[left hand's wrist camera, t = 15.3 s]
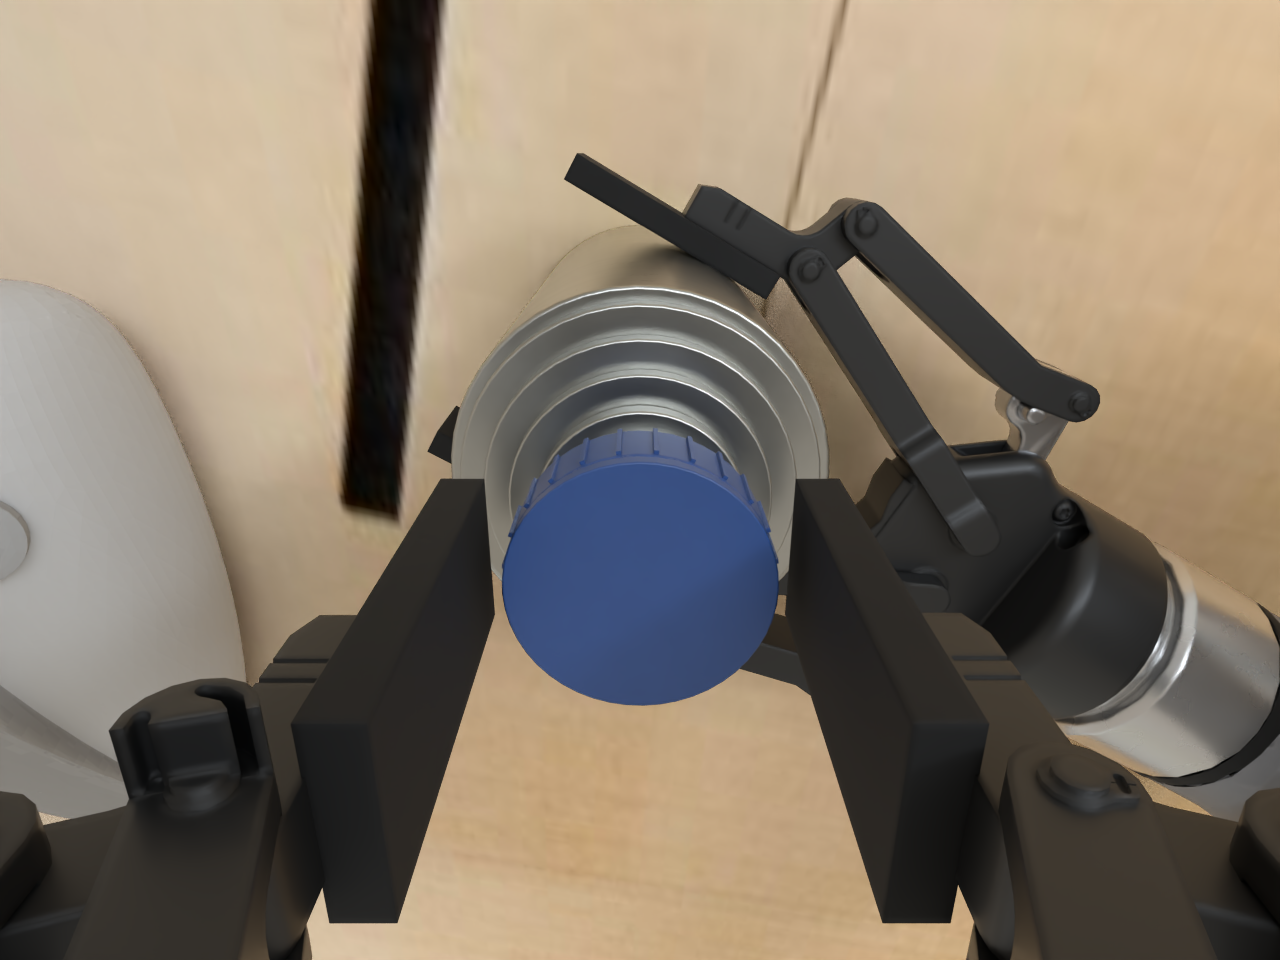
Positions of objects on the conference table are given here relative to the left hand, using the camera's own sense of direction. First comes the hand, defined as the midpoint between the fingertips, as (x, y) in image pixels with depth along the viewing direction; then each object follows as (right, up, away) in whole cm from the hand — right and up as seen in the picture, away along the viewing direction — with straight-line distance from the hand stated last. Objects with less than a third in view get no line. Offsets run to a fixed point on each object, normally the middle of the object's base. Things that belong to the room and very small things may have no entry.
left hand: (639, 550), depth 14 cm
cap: (0, 0, -1) cm, 1 cm away
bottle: (0, +7, +17) cm, 18 cm away
